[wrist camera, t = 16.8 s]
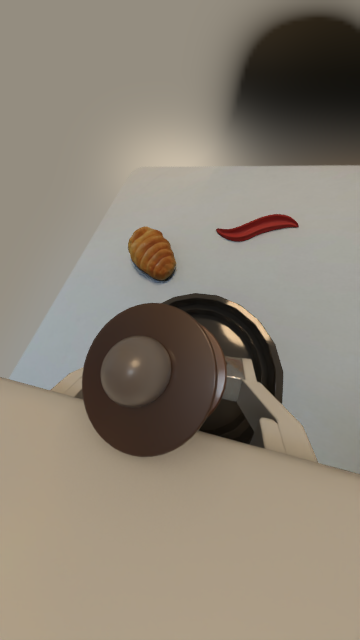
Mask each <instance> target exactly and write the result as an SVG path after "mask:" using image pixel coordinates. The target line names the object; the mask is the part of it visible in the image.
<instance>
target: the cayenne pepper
mask: <svg viewBox="0 0 360 640" xmlns="http://www.w3.org/2000/svg"><path fill="white" fill-rule="evenodd" d="M287 227H299V226H298V223H297V222H296V221H295V220H294V219H292V218H291V217H289V216H286V215H281V214H274V215H268V216H264V217H261V218H258V219H256V220H253V221H251V222H249V223H246V224H244V225H242V226H239V227H236V228H233V229H216V230H217V232H218V234H220V235H221V236H222V237H224V238H226V239H228V240H231V241H245V240H248V239H250V238H252V237H254V236H256V235H259V234H261V233H265V232H268V231H272V230H276V229H281V228H287Z"/></svg>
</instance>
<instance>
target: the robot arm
mask: <svg viewBox="0 0 360 640" xmlns="http://www.w3.org/2000/svg"><path fill="white" fill-rule="evenodd" d="M225 361H226V368H227V380H226V386H225V390H224V393H223V396H222V399H226V400H230V401H235V402H237V404H238V405H239V407H240V409H241V410H242V412H243V414H244V415H245V417H246V419H247V420H248V422H249V424H250V425H251V427H252V429H253V430H254V435H253V437H252V440H251V442H250V444H246V443H242V442H238V441H235V440H231V439H227V438H224V437H220V436H216V435H213V434H209V433H205V432H201V431H197V432H196V434H195V435H194V436H193V437H192V438H191V439H190V440H188V441H187V442H186V443H185V444H184V445H182V446H180V447H179V448H177V449H175V450H174V451H171V452H169V453H166V454H163V455H159V456H154V457H137V456H131V455H128V454H125V453H122V452H120V451H118V450H116V449H114V448H113V447H112V446H110V445H109V444H108V443H106V442H105V441H104V440H103V439H102V438H101V437H100V436H99V434H98V433H97V432H96V430H95V429H94V428H93V426H92V424H91V422H90V420H89V418H88V415H87V413H86V410H85V406H84V402H83V395H82V374H83V368H84V367H83V368H81V369H79V370H76V371H74V372H72V373H70V374H69V375H67V376H66V377H65V378H64V379H63V380H62V381H60V382H59V383H58V384H57V385H56V386H55V387H53V388H52V389H51V390H46V389H43V388H39V387H35V386H32V385H28V384H24V383H21V382H17V381H13V380H9V379H6V378H2V377H0V640H360V474H357V473H353V472H349V471H346V470H342V469H338V468H335V467H331V466H327V465H323V464H320V463H318V461H317V458H316V456H315V454H314V451H313V449H312V447H311V444H310V442H309V440H308V437H307V435H306V433H305V430H304V428H303V426H302V425H301V424H300V423H299V422H298V421H297V420H296V419H295V418H294V416H293V415H292V414H291V413H290V412H289V411H288V410H287V409H286V408H285V407H284V406H283V405H282V404H281V403H280V402H279V401H278V400H277V399H276V398H275V397H274V396H273V395H272V394H271V393H270V392H269V391H268V390H267V389H266V388H265V387H264V386H263V385H262V384H261V383H260V382H257V380H256V376H255V372H254V368H253V364H252V360H251V359H246V358H237V357H229V356H225Z"/></svg>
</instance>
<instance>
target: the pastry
mask: <svg viewBox="0 0 360 640" xmlns="http://www.w3.org/2000/svg"><path fill="white" fill-rule="evenodd" d="M128 250H129V253H130V255H131V259H132V261H133V262H134V263H135V264H136V265H137V267H138V268H140V269H141V270H143V271H144V272H145V273H147V274H149V275H150V276H151V277H153V278H155V279H158V280H165V279H166V278H168V277H169V276H170V275H171V274H172V273H173V271H174V268H175V265H176V261H175V259H174V254H173V251H172V250H171V247H170V243H169V242H168V241H167V240H166V239H165V238H163V235H162V233H161V232H160V231H158V230H154V229H151V228H149V227H142V228H139V229H138V230H136V231H135V232H134V233H133V235H132V237H131V238H130V239H129V243H128Z"/></svg>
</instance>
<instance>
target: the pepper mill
mask: <svg viewBox="0 0 360 640" xmlns="http://www.w3.org/2000/svg"><path fill="white" fill-rule="evenodd" d="M226 380H227V368H226V361H225V356H224V354H223V351H222V348H221V346H220V344H219V343H218V341H217V340H216V338H215V337H214V336H213V334H212V333H211V332H210V331H209V330H207V329H206V328H205V327H204V326H202V325H201V324H199V323H198V322H197V321H196V320H195V319H194V318H193V317H191V316H190V315H189V314H187V313H186V312H184V311H183V310H181V309H179V308H176V307H174V306H170V305H167V304H161V303H148V304H141V305H137V306H134V307H131V308H129V309H127V310H125V311H123V312H121V313H119V314H118V315H116V316H115V317H114V318H113V319H111V320H110V321H109V322H108V323H107V324H106V325H105V326H104V327H103V328H102V329H101V331H100V332H99V333H98V335H97V336H96V338H95V339H94V341H93V343H92V345H91V347H90V349H89V351H88V354H87V357H86V360H85V363H84V368H83V374H82V395H83V402H84V406H85V410H86V413H87V415H88V418H89V420H90V422H91V424H92V426H93V428H94V429H95V430H96V432H97V433H98V434H99V436H100V437H101V438H102V439H103V440H104V441H105V442H106V443H108V444H109V445H110V446H112V447H113V448H114V449H116V450H118V451H120V452H122V453H125V454H128V455H131V456H137V457H154V456H159V455H163V454H166V453H169V452H171V451H174V450H175V449H177V448H179V447H180V446H182V445H184V444H185V443H186V442H187V441H188V440H190V439H191V438H192V437H193V436H194V435H195V434H196V432H197V431H198V430H199V429H200V428H201V426H202V425H203V423H204V422H205V420H206V418H208V417H209V416H210V415H211V414H212V413H213V411H214V410H215V409H216V407H217V406H218V404H219V403H220V400H221V398H222V396H223V393H224V390H225V386H226Z"/></svg>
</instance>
